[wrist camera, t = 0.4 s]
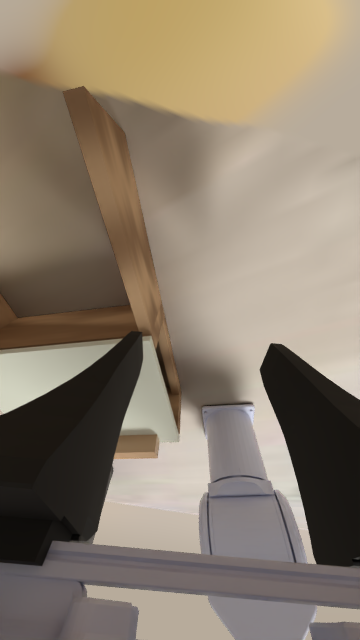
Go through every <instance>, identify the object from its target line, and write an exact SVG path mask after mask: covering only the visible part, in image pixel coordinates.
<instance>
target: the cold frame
mask: <svg viewBox="0 0 360 640" xmlns="http://www.w3.org/2000/svg"><path fill="white" fill-rule="evenodd" d="M63 94H64V97H65V101H66V104H67V107H68V110H69V113H70V116H71V119H72V123H73V126H74V129H75V132H76V135H77V138H78V141H79V145H80V148H81V151H82V154H83V157H84V160H85V163H86V167H87V170H88V173H89V176H90V179H91V182H92V185H93V189H94V192H95V195H96V198H97V201H98V204H99V207H100V211H101V214H102V217H103V220H104V223H105V226H106V229H107V233H108V236H109V239H110V242H111V245H112V248H113V251H114V255H115V258H116V261H117V264H118V267H119V270H120V273H121V277H122V280H123V283H124V286H125V289H126V292H127V295H128V299H129V302H130V305H125V306H117V307H108V308H100V309H91V310H82V311H74V312H65V313H56V314H48V315H39V316H30V317H22V318H17V316H16V315H15V314H14V312H13V311H12V309H11V308H10V306H9V305H8V304H7V302H6V301H5V299H4V298H3V296H2V295H1V294H0V350H6V349H17V348H28V347H38V346H49V345H59V344H70V343H81V342H91V341H102V340H112V339H123V338H124V337H125V336H126V335H127V334H128V333H130V332H131V331H138V332H142V337H144V336H151V337H152V340H153V344H154V347H155V351H156V355H157V358H158V362H159V365H160V369H161V372H162V376H163V379H164V383H165V387H166V390H167V394H168V397H169V401H170V404H171V408H172V412H173V415H174V419H175V422H176V426H177V429H178V433H179V434H180V414H181V388H180V383H179V379H178V374H177V369H176V365H175V360H174V356H173V351H172V347H171V342H170V337H169V333H168V328H167V324H166V319H165V315H164V310H163V306H162V301H161V296H160V292H159V287H158V283H157V278H156V274H155V269H154V264H153V260H152V255H151V251H150V246H149V242H148V237H147V232H146V228H145V223H144V219H143V214H142V210H141V205H140V201H139V196H138V191H137V187H136V182H135V178H134V173H133V169H132V164H131V159H130V155H129V150H128V146H127V141H126V137H125V133H124V131H123V130H122V129H121V128H120V127H119V126H118V125H117V124H116V122H115V121H114V120H113V119H112V118H111V117H110V116H109V114H108V113H107V112H106V111H105V110H104V109H103V108H102V107H101V105H100V104H99V103H98V102H97V101H96V100H95V99H94V97H93V96H92V95H91V94H90V93H89V92H88V91H87V89H86V88H85V87H84V86H82V87H78V88H75V89H71V90H67V91H63Z"/></svg>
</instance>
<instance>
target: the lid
mask: <svg viewBox="0 0 360 640" xmlns="http://www.w3.org/2000/svg"><path fill="white" fill-rule="evenodd" d="M142 339H143V363H142V367H141V371H140V375H139V378H138V381H137V384H136V387H135V389H134V392H133V395H132V398H131V400H130V403H129V406H128V409H127V411H126V414H125V417H124V420H123V424H122V428H121V432H120V435H119V439H118V443H117V447H116V451H115V455H114V459H136V458H157V457H158V450H159V442H179V433H178V429H177V426H176V422H175V419H174V415H173V412H172V408H171V404H170V401H169V397H168V394H167V390H166V387H165V383H164V379H163V376H162V372H161V369H160V365H159V362H158V358H157V355H156V351H155V347H154V344H153V340H152V337H151V336H144V337H142ZM121 340H122V339H112V340H102V341H91V342H81V343H70V344H59V345H49V346H38V347H28V348H17V349H6V350H0V411H2V412H3V413H4V414H5V413H7V412H9V411H12V410H14V409H16V408H18V407H20V406H22V405H24V404H26V403H28V402H30V401H32V400H34V399H36V398H38V397H40V396H42V395H44V394H46V393H47V392H49V391H51V390H53V389H54V388H56V387H58V386H60V385H61V384H63V383H65V382H67V381H68V380H70V379H72V378H73V377H75V376H76V375H78V374H79V373H81V372H82V371H84V370H85V369H87V368H88V367H89V366H91V365H92V364H93V363H95V362H96V361H97V360H98V359H100V358H101V357H102V356H104V355H105V354H106V353H107V352H108V351H109V350H111V349H112V348H113V347H114V346H115V345H116V344H117V343H119V342H120V341H121Z"/></svg>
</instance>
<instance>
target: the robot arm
mask: <svg viewBox="0 0 360 640" xmlns="http://www.w3.org/2000/svg"><path fill="white" fill-rule="evenodd" d="M142 363H143V339H142V332H138V331H131V332H130V333H128V334H127V335H126V336H125V337H124V338H123V339H122V340H121V341H120V342H119V343H117V344H116V345H115V346H114V347H113V348H112V349H111V350H109V351H108V352H107V353H106V354H105V355H104V356H102V357H101V358H100V359H98V360H97V361H96V362H95V363H93V364H92V365H91V366H89V367H88V368H87V369H85V370H84V371H82V372H81V373H79V374H78V375H76V376H75V377H73V378H72V379H70V380H68V381H67V382H65V383H63V384H61V385H60V386H58V387H56V388H54V389H53V390H51V391H49V392H47V393H46V394H44V395H42V396H40V397H38V398H36V399H34V400H32V401H30V402H28V403H26V404H24V405H22V406H20V407H18V408H16V409H14V410H12V411H9V412H7V413H5V414H3V415H0V640H136V629H137V621H138V614H139V611H138V608H137V607H134V606H132V604H131V603H128V602H120V601H112V600H104V599H96V598H87V591H86V588H85V586H84V585H83V584H86V585H97V586H107V587H119V588H130V589H141V590H152V591H163V592H174V593H185V594H196V595H207V596H208V600H209V603H210V605H211V607H212V609H213V610H214V611H215V613H216V614H217V616H218V617H219V618H220V620H221V621H222V622H223V624H224V625H225V627H226V628H227V629H228V631H229V632H230V633H231V635H232V636H233V637H234V639H235V640H305V638H306V636H307V634H308V632H309V630H310V633H311V636H312V640H360V623H354V622H338V623H313V622H314V620H315V617H316V614H317V606H316V605H318V606H329V607H340V608H351V609H360V400H359V399H357V398H356V397H354V396H353V395H351V394H349V393H348V392H346V391H345V390H343V389H342V388H341V387H339V386H338V385H336V384H335V383H333V382H332V381H331V380H329V379H328V378H326V377H325V376H324V375H322V374H321V373H320V372H318V371H317V370H316V369H314V368H313V367H312V366H310V365H309V364H308V363H306V362H305V361H304V360H302V359H301V358H300V357H299V356H297V355H296V354H295V353H293V352H292V351H291V350H289V349H288V348H287V347H285V346H284V345H282V344H273V343H271V344H270V346H269V349H268V351H267V353H266V356H265V358H264V361H263V363H262V365H261V368H260V373H261V377H262V381H263V384H264V387H265V390H266V392H267V395H268V397H269V400H270V402H271V405H272V407H273V409H274V412H275V414H276V417H277V419H278V421H279V424H280V426H281V429H282V432H283V434H284V437H285V441H286V444H287V447H288V450H289V454H290V457H291V461H292V464H293V468H294V471H295V475H296V479H297V482H298V487H299V491H300V495H301V499H302V503H303V507H304V511H305V516H306V521H307V525H308V530H309V534H310V539H311V545H312V550H313V555H314V558H315V561H316V564H308V563H307V558H306V554H305V550H304V546H303V543H302V539H301V536H300V533H299V530H298V527H297V524H296V521H295V518H294V515H293V512H292V510H291V507H290V505H289V503H288V500H287V499H286V497H285V496H284V495H283V494H282V493H281V492H280V491H279V490H274V491H273V487H272V484H271V481H268V478H267V474H266V471H265V467H264V464H263V460H262V457H261V453H260V450H259V446H258V443H257V439H256V436H255V432H254V429H253V419H254V409H255V407H254V405H253V404H244V405H223V406H204V407H202V414H203V421H204V428H205V435H206V439H207V441H208V455H209V468H210V481H211V483H208V492H209V493H208V492H206V493H204V494H203V497H202V498H201V500H200V505H199V535H200V546H201V554H195V553H184V552H172V551H162V550H151V549H139V548H128V547H118V546H106V545H95V544H84V543H73V542H70V541H78V542H79V541H88V540H89V539H90V538H91V537H92V536H93V535H94V534H95V533H96V532H97V530H98V524H99V520H100V516H101V511H102V506H103V502H104V497H105V493H106V488H107V484H108V480H109V476H110V471H111V467H112V463H113V459H114V455H115V451H116V447H117V443H118V439H119V435H120V432H121V428H122V424H123V420H124V417H125V414H126V411H127V409H128V406H129V403H130V400H131V398H132V395H133V392H134V389H135V387H136V384H137V381H138V378H139V375H140V371H141V367H142Z"/></svg>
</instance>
